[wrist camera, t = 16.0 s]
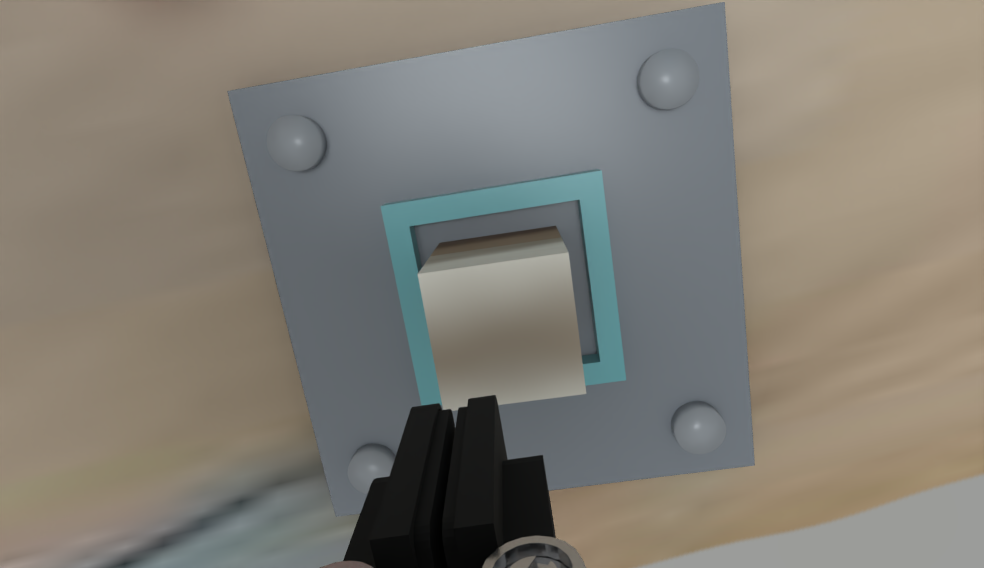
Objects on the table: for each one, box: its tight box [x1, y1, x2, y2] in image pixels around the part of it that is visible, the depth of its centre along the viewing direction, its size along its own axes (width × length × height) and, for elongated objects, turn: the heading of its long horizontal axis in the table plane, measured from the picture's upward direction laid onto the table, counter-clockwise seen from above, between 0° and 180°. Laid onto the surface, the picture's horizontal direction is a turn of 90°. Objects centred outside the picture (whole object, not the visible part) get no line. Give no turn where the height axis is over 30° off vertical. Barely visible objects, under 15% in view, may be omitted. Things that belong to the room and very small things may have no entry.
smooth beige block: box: [418, 226, 586, 411], centre depth 23 cm, size 5×5×6 cm
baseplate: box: [227, 2, 755, 517], centre depth 26 cm, size 20×20×2 cm
